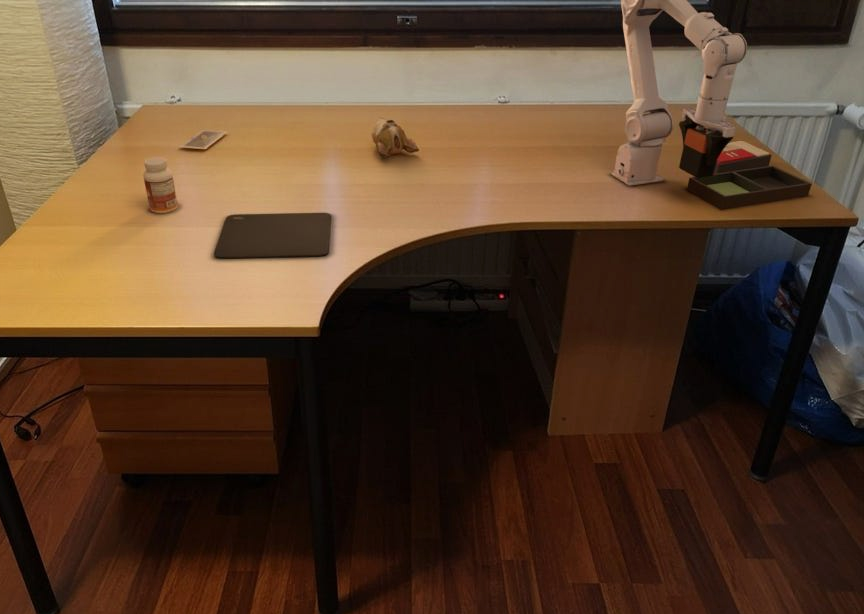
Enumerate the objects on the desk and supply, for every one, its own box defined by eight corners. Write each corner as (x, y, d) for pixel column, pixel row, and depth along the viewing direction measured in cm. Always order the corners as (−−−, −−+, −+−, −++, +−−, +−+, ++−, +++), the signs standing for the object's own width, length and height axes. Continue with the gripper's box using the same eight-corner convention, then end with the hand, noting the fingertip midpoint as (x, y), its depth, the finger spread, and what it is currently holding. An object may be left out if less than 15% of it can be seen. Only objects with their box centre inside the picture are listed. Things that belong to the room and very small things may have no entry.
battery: (697, 179, 161) (708, 133, 155) (677, 168, 166) (687, 123, 161) (713, 176, 162) (725, 131, 156) (693, 166, 167) (704, 121, 162)
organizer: (721, 209, 164) (724, 197, 162) (686, 189, 174) (689, 177, 172) (808, 196, 170) (812, 183, 168) (769, 177, 180) (773, 165, 178)
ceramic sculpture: (399, 108, 198) (422, 128, 187) (399, 139, 204) (421, 160, 193) (362, 113, 195) (383, 133, 184) (362, 145, 201) (382, 166, 190)
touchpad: (229, 135, 209) (228, 127, 208) (206, 153, 197) (204, 145, 195) (203, 133, 210) (202, 125, 209) (179, 150, 198) (177, 142, 197)
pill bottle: (152, 203, 169) (143, 156, 163) (179, 202, 170) (171, 155, 163) (147, 214, 164) (138, 166, 158) (176, 213, 164) (167, 165, 158)
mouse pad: (331, 213, 163) (331, 212, 163) (328, 256, 146) (328, 254, 146) (227, 215, 163) (227, 214, 163) (212, 258, 146) (212, 257, 146)
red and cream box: (692, 147, 187) (742, 138, 190) (689, 163, 190) (739, 154, 193) (720, 161, 178) (773, 151, 182) (717, 178, 181) (769, 168, 184)
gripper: (753, 104, 150) (736, 168, 158) (707, 86, 162) (693, 147, 169) (724, 107, 148) (708, 172, 156) (679, 89, 160) (666, 150, 167)
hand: (698, 159), depth 162 cm, fingers closed on battery, 7 cm apart
